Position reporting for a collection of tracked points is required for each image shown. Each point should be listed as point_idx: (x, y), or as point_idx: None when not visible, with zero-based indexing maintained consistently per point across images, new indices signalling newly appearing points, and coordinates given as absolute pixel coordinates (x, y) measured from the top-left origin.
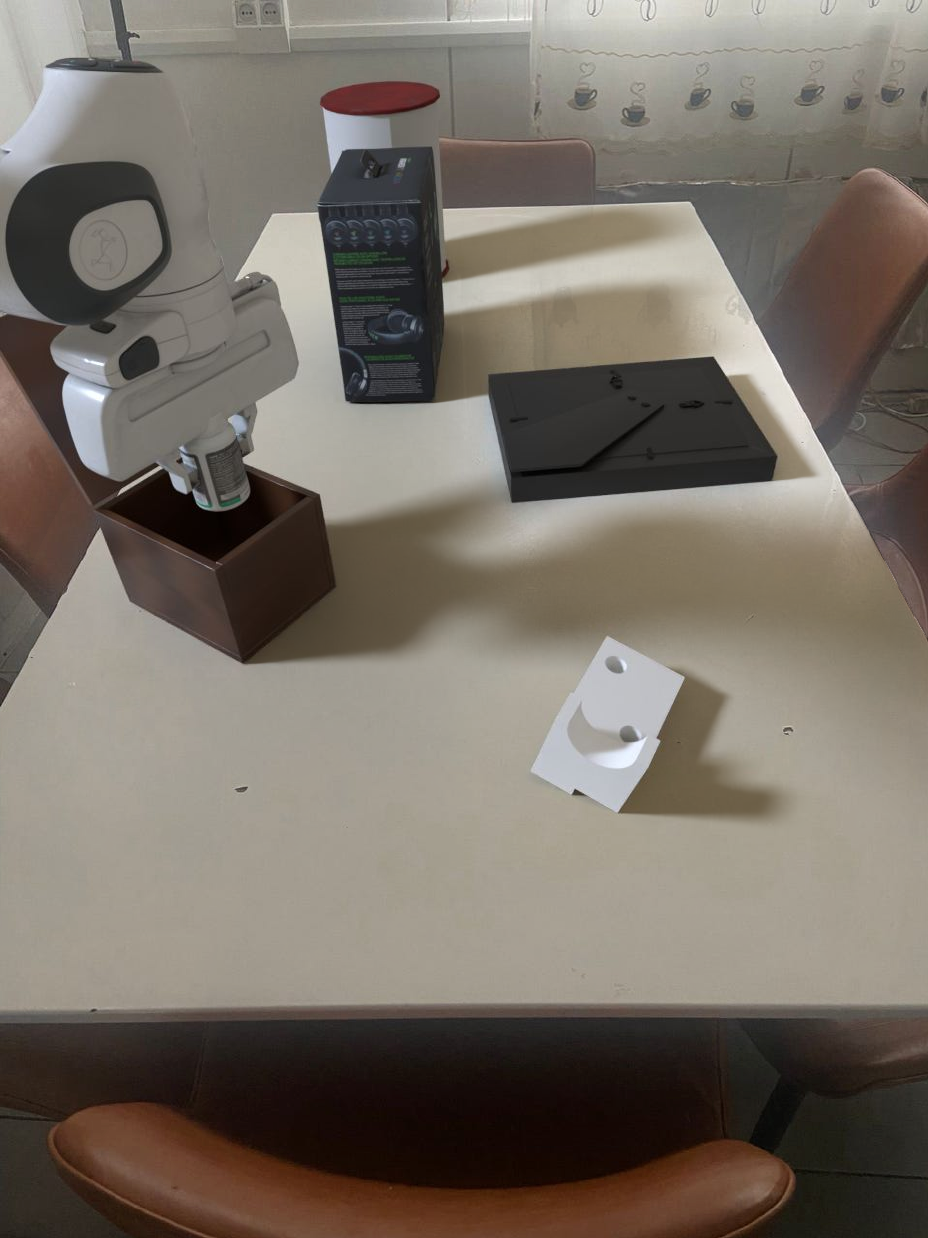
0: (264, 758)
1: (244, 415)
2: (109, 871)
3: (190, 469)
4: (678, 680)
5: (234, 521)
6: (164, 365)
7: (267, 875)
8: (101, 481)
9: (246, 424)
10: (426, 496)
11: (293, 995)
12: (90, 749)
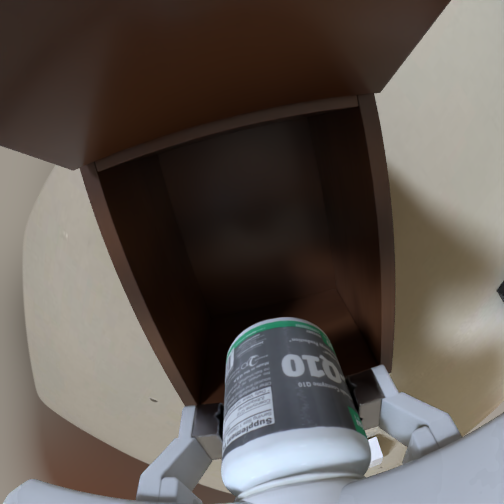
0: (175, 394)
1: (404, 463)
2: (74, 388)
3: (220, 454)
4: (377, 464)
5: (324, 152)
6: None
7: (148, 434)
8: (89, 146)
9: (400, 437)
10: (483, 231)
11: (141, 459)
12: (68, 312)
